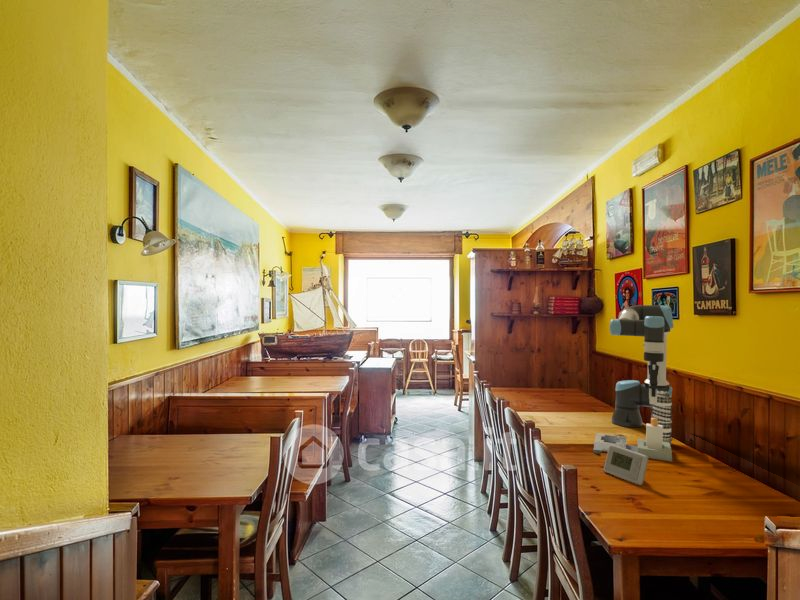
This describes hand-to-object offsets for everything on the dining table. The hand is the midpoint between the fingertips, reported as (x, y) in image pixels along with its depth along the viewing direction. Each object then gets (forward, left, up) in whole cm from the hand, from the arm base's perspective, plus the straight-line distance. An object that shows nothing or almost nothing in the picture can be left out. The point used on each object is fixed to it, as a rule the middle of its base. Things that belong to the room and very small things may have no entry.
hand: (652, 401), depth 199 cm
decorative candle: (-18, -7, -24) cm, 31 cm away
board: (+5, -6, -24) cm, 25 cm away
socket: (+10, -13, -22) cm, 28 cm away
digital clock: (+32, +11, -24) cm, 42 cm away
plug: (0, +1, -22) cm, 22 cm away
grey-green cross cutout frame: (0, +1, -22) cm, 22 cm away
